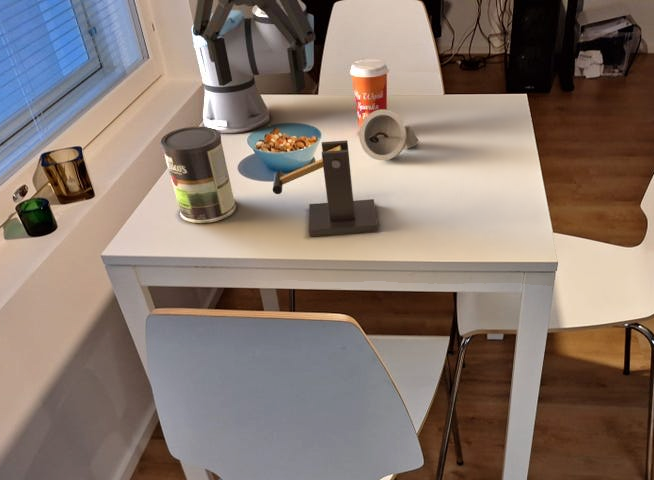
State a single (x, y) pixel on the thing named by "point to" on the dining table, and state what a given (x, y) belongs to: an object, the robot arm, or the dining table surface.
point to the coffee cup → (369, 86)
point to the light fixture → (385, 135)
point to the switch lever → (296, 173)
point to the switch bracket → (340, 198)
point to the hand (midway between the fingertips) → (262, 87)
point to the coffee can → (199, 174)
